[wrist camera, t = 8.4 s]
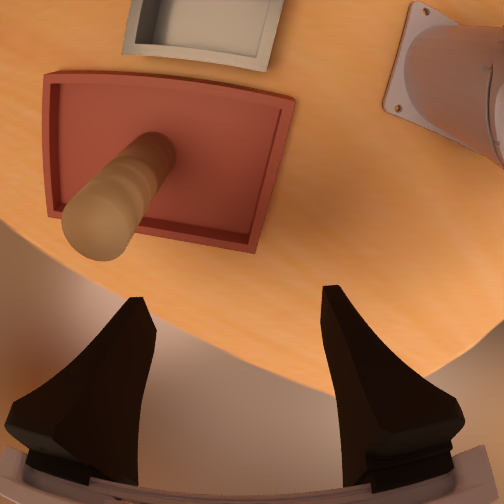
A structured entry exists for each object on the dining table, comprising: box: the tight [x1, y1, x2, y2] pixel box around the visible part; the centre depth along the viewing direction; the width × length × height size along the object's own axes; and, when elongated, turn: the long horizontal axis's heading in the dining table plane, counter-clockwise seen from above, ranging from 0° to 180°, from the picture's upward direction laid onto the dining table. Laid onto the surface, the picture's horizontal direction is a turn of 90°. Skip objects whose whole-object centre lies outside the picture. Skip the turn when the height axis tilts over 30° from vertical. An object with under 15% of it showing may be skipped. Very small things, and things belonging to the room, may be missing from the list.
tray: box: [42, 71, 296, 254], centre depth 19 cm, size 15×10×2 cm
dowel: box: [61, 132, 176, 261], centre depth 15 cm, size 3×3×9 cm
